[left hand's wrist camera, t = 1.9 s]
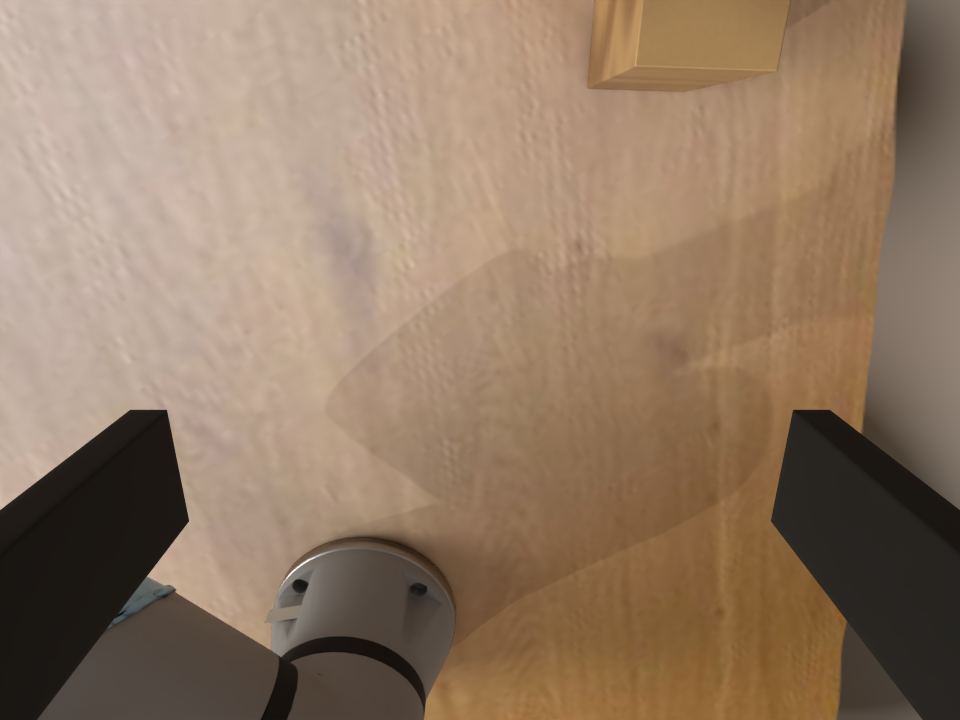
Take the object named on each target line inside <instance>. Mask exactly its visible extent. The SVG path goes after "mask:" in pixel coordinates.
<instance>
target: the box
mask: <svg viewBox="0 0 960 720" xmlns="http://www.w3.org/2000/svg"><path fill="white" fill-rule="evenodd" d="M790 2H791V0H595V3H594V15H593V26H592V38H591V49H590V61H589V72H588V84H587V88H588V89H612V90H641V91H670V92H686V91H691V90H695V89H700V88H705V87H709V86H714V85H718V84H723V83H727V82H732V81H736V80H741V79H745V78H750V77H754V76H759V75H763V74H768V73H773V72H776V71H777V70H778V66H779V60H780V55H781V50H782V44H783V39H784V34H785V28H786V23H787V18H788V12H789V7H790Z"/></svg>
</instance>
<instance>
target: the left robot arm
mask: <svg viewBox="0 0 960 720" xmlns="http://www.w3.org/2000/svg"><path fill="white" fill-rule="evenodd" d="M188 522H189V518H188V513H187V508H186V503H185V498H184V493H183V488H182V483H181V478H180V473H179V468H178V463H177V458H176V453H175V448H174V443H173V438H172V433H171V428H170V423H169V418H168V413H167V410H130V411H128V412H127V413H126V414H124V415H123V416H122V417H120V418H119V419H118V420H117V421H115V422H114V423H113V424H111V425H110V426H109V427H107V428H106V429H105V430H104V431H102V432H101V433H100V434H98V435H97V436H96V437H95V438H93V439H92V440H91V441H89V442H88V443H87V444H85V445H84V446H83V447H82V448H80V449H79V450H78V451H76V452H75V453H74V454H72V455H71V456H70V457H69V458H67V459H66V460H65V461H63V462H62V463H61V464H59V465H58V466H57V467H56V468H54V469H53V470H52V471H50V472H49V473H48V474H47V475H45V476H44V477H43V478H41V479H40V480H39V481H37V482H36V483H35V484H34V485H32V486H31V487H30V488H28V489H27V490H26V491H24V492H23V493H22V494H21V495H19V496H18V497H17V498H15V499H14V500H13V501H11V502H10V503H9V504H8V505H6V506H5V507H4V508H2V509H1V510H0V720H424V713H425V703H426V699H427V697H428V695H429V693H430V691H431V689H432V687H433V685H434V683H435V680H436V678H437V676H438V674H439V672H440V670H441V668H442V666H443V664H444V662H445V660H446V658H447V656H448V654H449V651H450V648H451V644H452V641H453V637H454V633H455V619H456V607H455V601H454V597H453V594H452V591H451V589H450V586H449V585H448V583H447V581H446V579H445V578H444V577H443V575H442V574H441V573H440V571H439V570H438V569H437V568H436V567H435V566H434V565H433V564H432V563H431V562H429V561H428V560H427V559H426V558H424V557H423V556H421V555H420V554H418V553H417V552H415V551H413V550H411V549H409V548H407V547H404V546H402V545H400V544H396V543H393V542H390V541H386V540H381V539H374V538H348V539H341V540H336V541H333V542H329V543H326V544H323V545H321V546H319V547H317V548H315V549H313V550H311V551H309V552H308V553H306V554H305V555H304V556H302V557H301V558H300V559H299V560H298V561H297V562H296V563H294V565H293V566H292V567H291V568H290V570H289V571H288V573H287V574H286V576H285V578H284V580H283V582H282V584H281V586H280V589H279V591H278V593H277V596H276V599H275V603H274V608H273V610H270V611H269V614H268V616H267V618H266V620H265V622H264V623H269V622H272V638H271V650H269V649H268V648H266V647H264V646H263V645H261V644H260V643H258V642H256V641H255V640H253V639H251V638H250V637H248V636H246V635H245V634H243V633H241V632H240V631H238V630H236V629H235V628H233V627H231V626H230V625H228V624H226V623H225V622H223V621H221V620H220V619H218V618H217V617H215V616H213V615H212V614H210V613H208V612H207V611H205V610H203V609H202V608H200V607H198V606H197V605H195V604H193V603H192V602H190V601H188V600H187V599H185V598H183V597H182V596H180V595H179V594H177V593H176V592H175V591H176V589H175V588H174V587H173V586H171V585H166V586H164V585H162V584H160V583H158V582H156V581H154V580H152V579H150V578H149V577H147V575H148V574H149V573H150V572H151V570H152V569H153V568H154V566H155V565H156V564H157V562H158V561H159V560H160V558H161V557H162V556H163V555H164V553H165V552H166V551H167V549H168V548H169V547H170V545H171V544H172V543H173V541H174V540H175V539H176V537H177V536H178V535H179V534H180V532H181V531H182V530H183V528H184V527H185V526H186V524H187V523H188ZM771 522H772V523H773V524H774V526H775V527H776V528H777V530H778V531H779V532H780V534H781V535H782V536H783V537H784V539H785V540H786V541H787V543H788V544H789V545H790V547H791V548H792V549H793V551H794V552H795V553H796V555H797V556H798V557H799V558H800V560H801V561H802V562H803V564H804V565H805V566H806V568H807V569H808V570H809V572H810V573H811V574H812V575H813V577H814V578H815V579H816V581H817V582H818V583H819V585H820V586H821V587H822V589H823V590H824V591H825V592H826V594H827V595H828V596H829V598H830V599H831V600H832V602H833V603H834V604H835V606H836V607H837V608H838V609H839V611H840V612H841V613H842V615H843V616H844V617H845V619H846V620H847V621H848V623H849V624H850V625H851V626H852V628H853V629H854V630H855V632H856V633H857V634H858V636H859V637H860V638H861V640H862V641H863V642H864V643H865V645H866V646H867V647H868V649H869V650H870V651H871V653H872V654H873V655H874V657H875V658H876V659H877V660H878V662H879V663H880V664H881V666H882V667H883V668H884V669H885V671H886V672H887V674H888V675H889V676H890V678H891V679H892V680H893V681H894V683H895V684H896V685H897V687H898V688H899V689H900V691H901V692H902V693H903V695H904V696H905V697H906V698H907V700H908V701H909V702H910V704H911V705H912V706H913V708H914V709H915V710H916V712H917V713H918V714H919V715H920V717H921V718H922V719H923V720H960V510H959V509H958V508H956V507H955V506H954V505H952V504H951V503H950V502H949V501H947V500H946V499H945V498H943V497H942V496H941V495H939V494H938V493H937V492H935V491H934V490H933V489H932V488H930V487H929V486H928V485H926V484H925V483H924V482H923V481H921V480H920V479H919V478H917V477H916V476H915V475H913V474H912V473H911V472H910V471H908V470H907V469H906V468H904V467H903V466H902V465H901V464H899V463H898V462H897V461H895V460H894V459H893V458H891V457H890V456H889V455H888V454H886V453H885V452H884V451H882V450H881V449H880V448H878V447H877V446H876V445H875V444H873V443H872V442H871V441H869V440H868V439H867V438H865V437H864V436H863V435H862V434H860V433H859V432H858V431H856V430H855V429H854V428H853V427H851V426H850V425H849V424H847V423H846V422H845V421H843V420H842V419H841V418H840V417H838V416H837V415H836V414H834V413H833V412H832V411H830V410H793V413H792V418H791V423H790V428H789V433H788V438H787V443H786V448H785V453H784V458H783V463H782V468H781V473H780V478H779V483H778V488H777V493H776V498H775V503H774V508H773V513H772V518H771Z"/></svg>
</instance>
